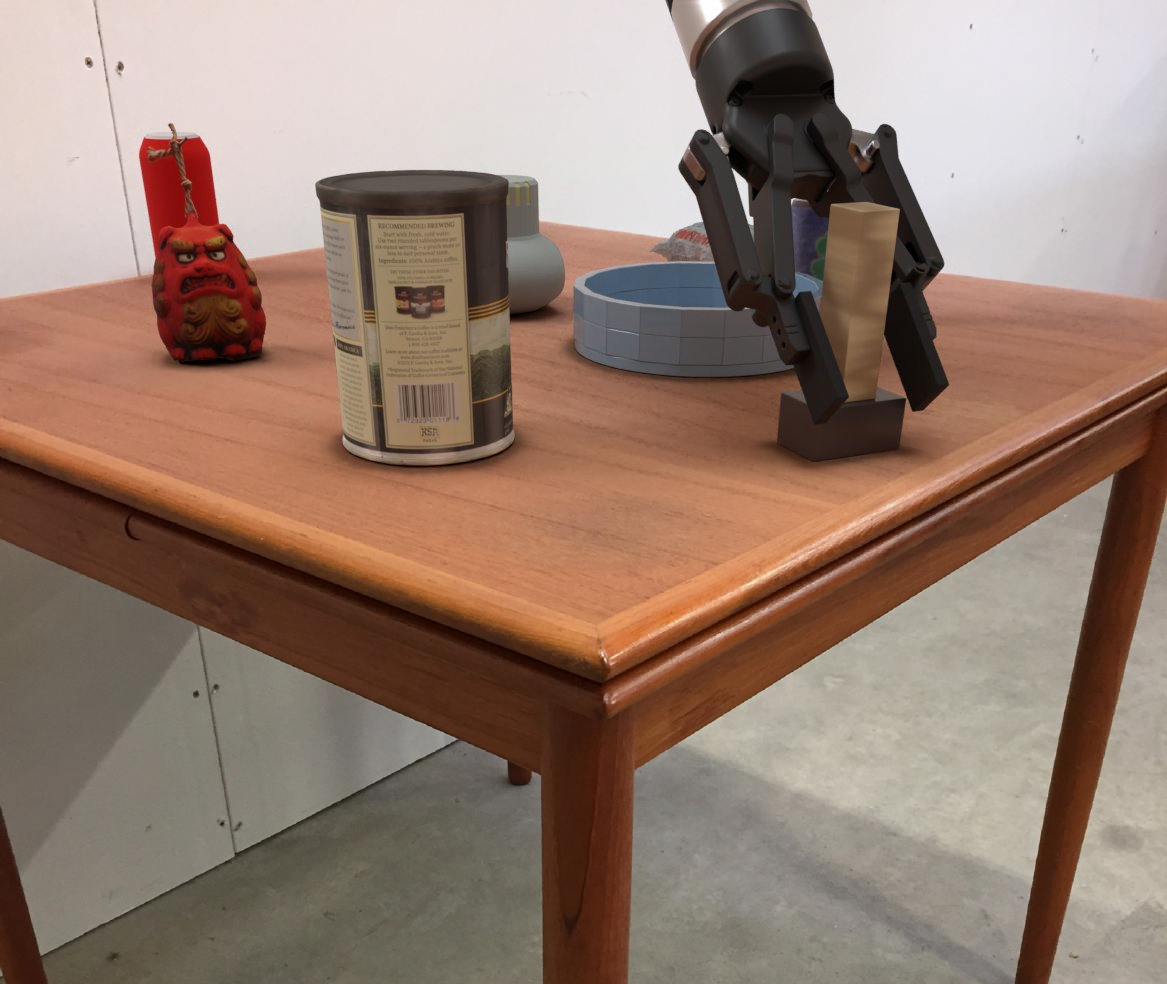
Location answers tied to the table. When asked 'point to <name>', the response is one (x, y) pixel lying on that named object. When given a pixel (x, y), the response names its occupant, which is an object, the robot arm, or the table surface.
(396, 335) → the coffee can
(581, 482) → the table surface
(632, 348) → the bowl
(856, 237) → the brush
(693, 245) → the packaged food
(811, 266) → the flask
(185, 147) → the beverage can
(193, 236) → the red clay folk toy
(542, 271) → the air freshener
